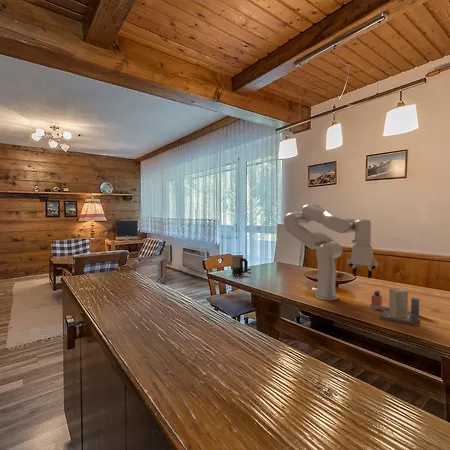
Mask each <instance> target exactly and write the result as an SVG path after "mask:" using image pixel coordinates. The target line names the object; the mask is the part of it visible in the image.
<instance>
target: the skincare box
mask: <svg viewBox="0 0 450 450" xmlns="http://www.w3.org/2000/svg"><path fill="white" fill-rule="evenodd" d="M408 293H409V291H408V290H406V289H404V288H390V289H389V306H388V307H389V314H390V315H392V316H393V317H408V310H409V307H408V306H409V303H408V302H409V301H408V300H409V299H408V297H409V294H408Z"/></svg>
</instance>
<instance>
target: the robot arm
mask: <svg viewBox="0 0 450 450" xmlns="http://www.w3.org/2000/svg"><path fill="white" fill-rule="evenodd" d="M312 221H313V222H316V223H318V224H321V225H323V226H324V227H325V228H327V229H329V230H331V231H334V232H336V233H339V234H350V233H354V239H353V240H351V243H352V244H353V245H352V248H351V257H349V258H348V259H347V260H346V263H347V264H348V265H349V266H350V268H351V269H352V275H353V277H356V276H357V274H358V271H357V265H358V266H367V268H368V270H367V278H368V279H371V278H372V277H373V270H374V269H376V268H378V266H380V262H379V261H377V260H376V259H375V258H374V251H373V246H372V244H371V243H372V242H371V241H372V240H371V239H372V238H371V237H372V235H371V233H372V223H371V220H370V219H354V218H340V217H338V216H334V215H332V214H331V212H330V211H329V210H327V209H325V208H322V207H321V206H320V205H319V204H316V203H313V204H311V203H310V204H309V203H308V204H305V205H303V206H302V208H301V210H300V212H299V211H298V212H289V213H287V214H286V215H285V216H284V217H283V226H284V228H285V230H286V231H287V232H288V233H289V234H290V235H291V236H292V237H294V238H295V239H297V240H298V241H299V242H300V243H302V244H303V245H304V246H306V247H307V248H309V249H310V250H316V253H315V255H316V259H317V288H315V287H311V289H310V291H311V292H312V293H315V294H314V297H315V298H317V299H319V300H324V301H336V300H338V299H339V295H338V294H336V264H335V260H334V259H336V258H339V257H341V255H342V254H343V247H342V245H341V244H340V243H339V242H337V241H336V240H334V239H333V238H331V237H330V236H328V235H327V234H325V233H322V232H312V231H310V230H309V229H308V228H306V227H304V225H306V224H308V223H311V222H312ZM372 265H373V266H372Z"/></svg>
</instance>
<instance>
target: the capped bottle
mask: <svg viewBox="0 0 450 450" xmlns="http://www.w3.org/2000/svg"><path fill="white" fill-rule="evenodd" d="M373 292H374V293H373V294H372V295H371V304H372V305H373V306H379V307H381V306H383V295H382V294H381V292H380V290H374V291H373Z"/></svg>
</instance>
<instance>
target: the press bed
mask: <svg viewBox="0 0 450 450" xmlns="http://www.w3.org/2000/svg"><path fill="white" fill-rule="evenodd" d="M379 319H380V320H385V321H390V322H394V323H397V324H398V323H400V324H402V325H403V324H404V325H410V326H414V327H416V326H417V323H418V321H419V317H418V316H413V315H408V317H393V316H392V315H390V314H389V311H386V310H382V312H381V314H380V315H379Z"/></svg>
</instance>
